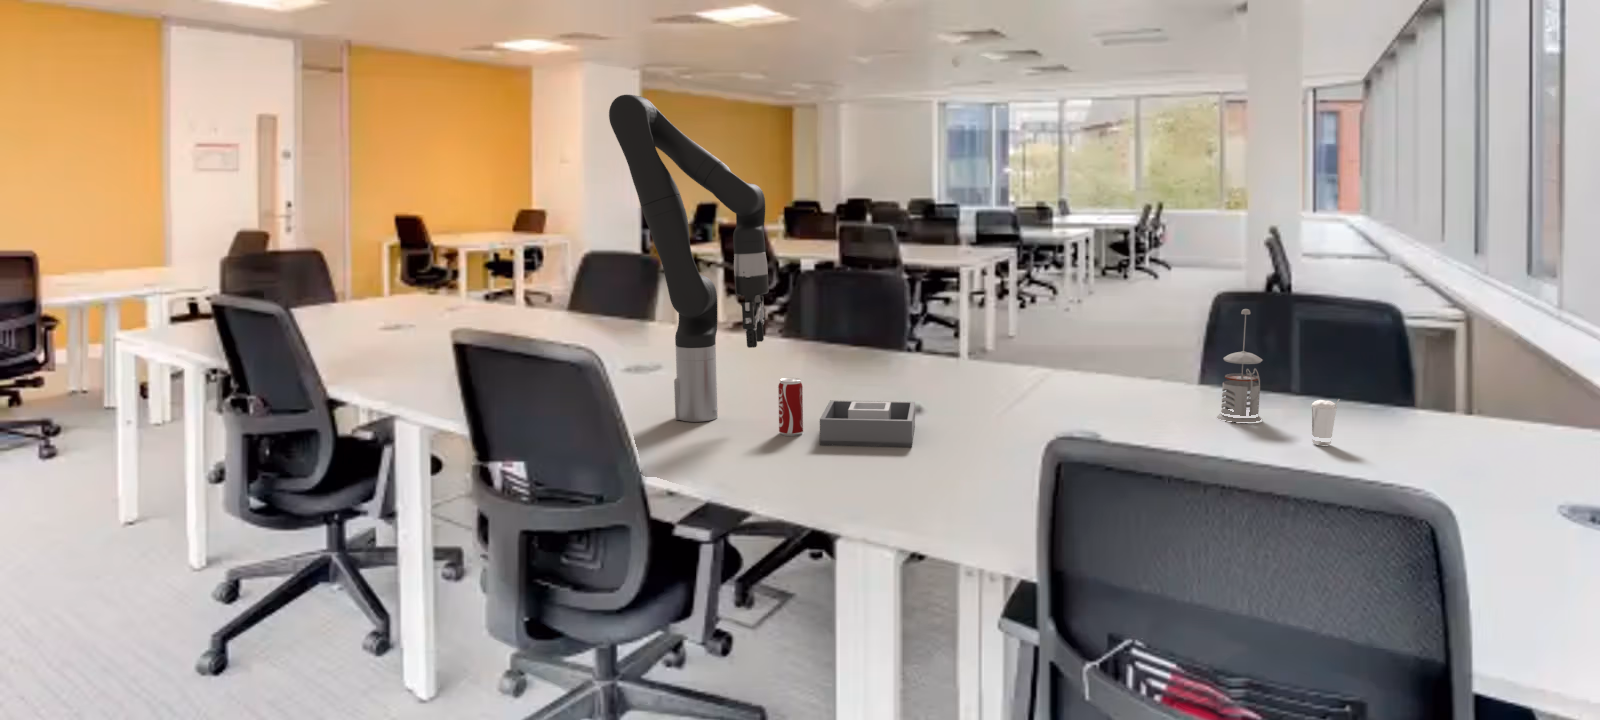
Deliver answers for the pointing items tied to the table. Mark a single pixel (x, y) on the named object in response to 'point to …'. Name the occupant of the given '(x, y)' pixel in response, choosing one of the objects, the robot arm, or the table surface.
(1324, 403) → the milkshake
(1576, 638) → the table surface
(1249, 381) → the french press
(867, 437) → the box
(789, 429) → the soda can
